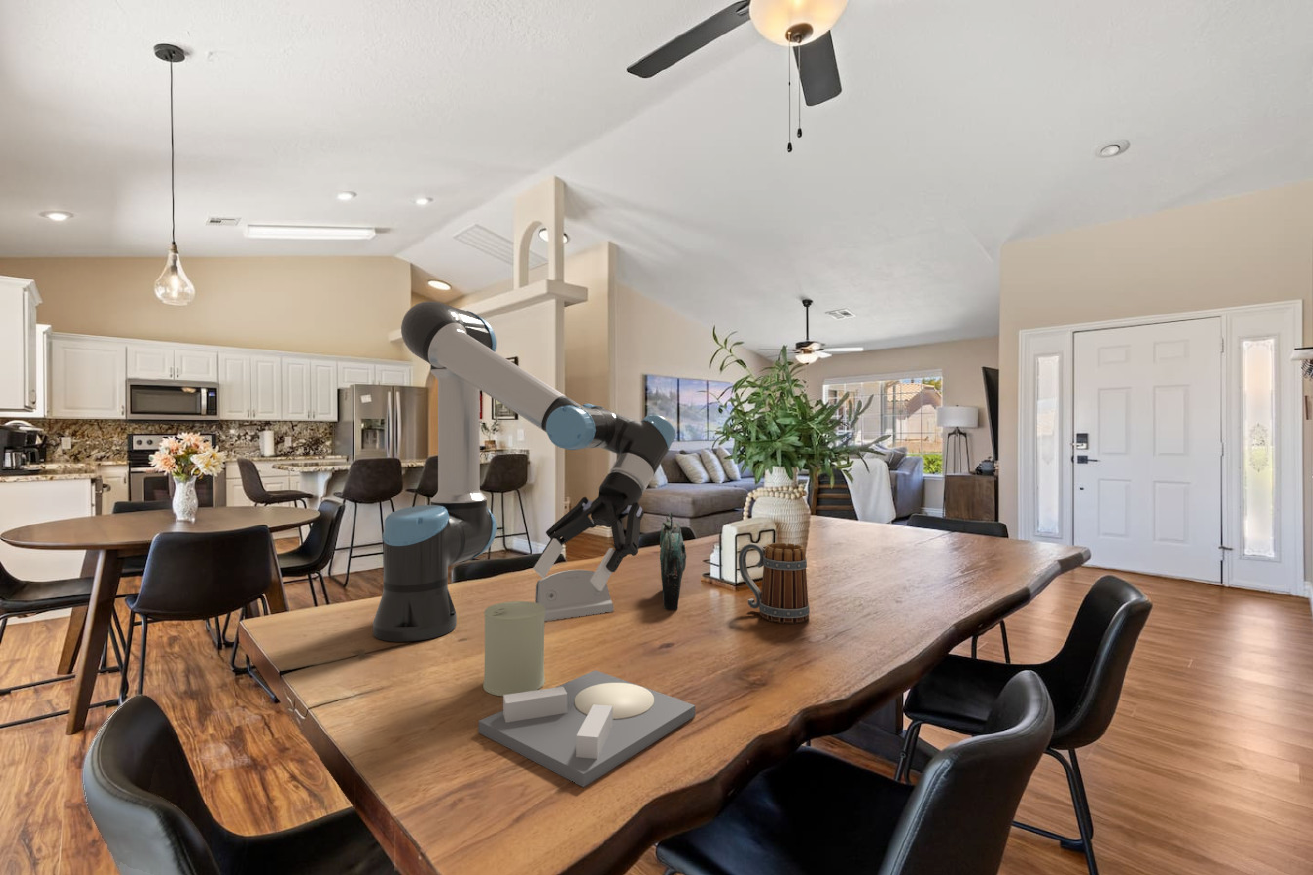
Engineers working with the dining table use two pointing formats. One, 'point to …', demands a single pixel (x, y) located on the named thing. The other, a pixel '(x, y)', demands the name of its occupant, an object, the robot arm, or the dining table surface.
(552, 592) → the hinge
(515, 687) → the can
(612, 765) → the coupling stand
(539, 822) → the dining table surface
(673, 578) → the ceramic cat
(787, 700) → the dining table surface
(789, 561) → the mug
